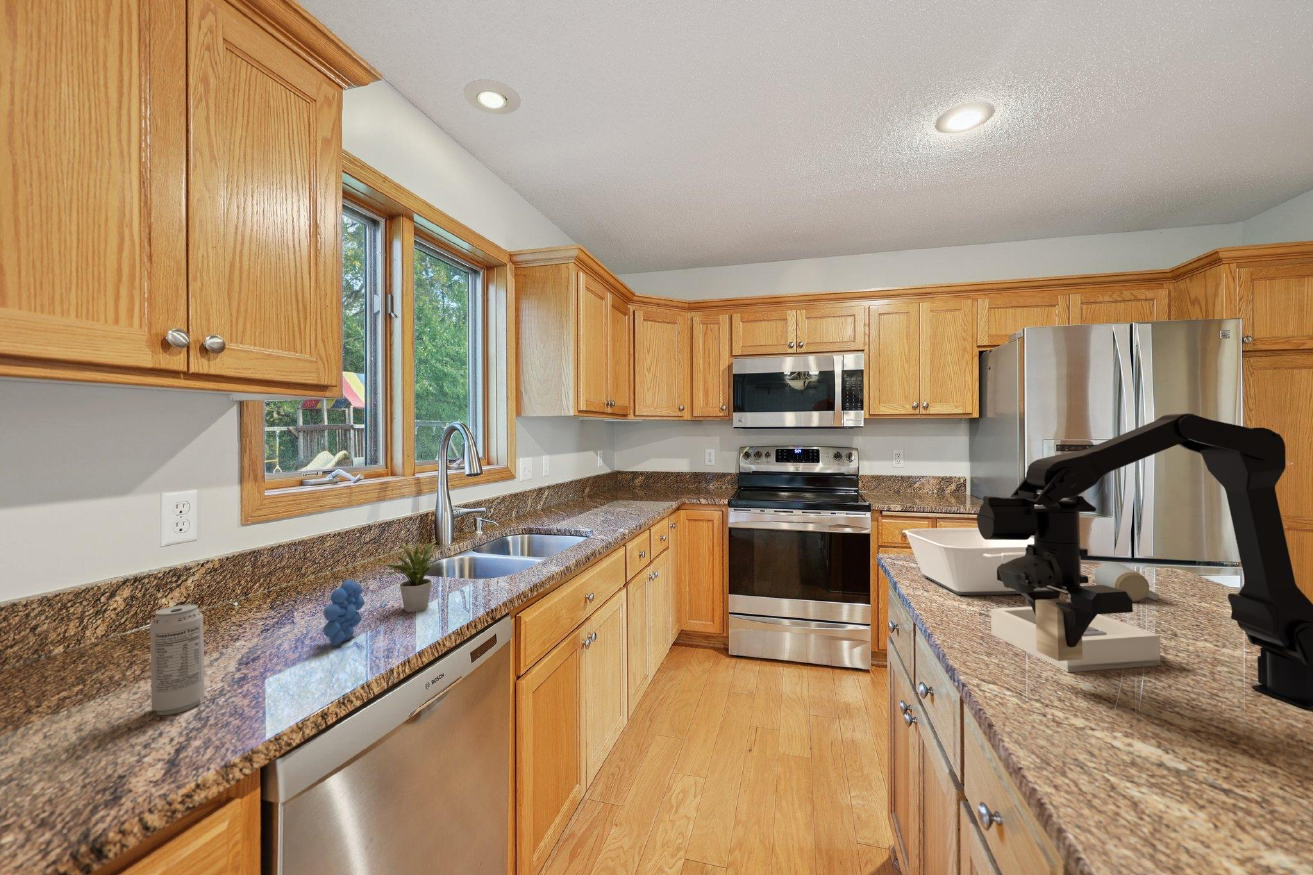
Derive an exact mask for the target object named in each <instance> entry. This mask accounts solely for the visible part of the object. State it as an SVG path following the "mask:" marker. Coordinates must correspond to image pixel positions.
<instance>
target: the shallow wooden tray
mask: <svg viewBox="0 0 1313 875" xmlns="http://www.w3.org/2000/svg"><path fill="white" fill-rule="evenodd" d="M990 619H991V620H990V622H991V624H990V628H991V629H990V630H991V631H990V632H991V635H992V636H994V637H995V638H998V639H999V640H1001V641H1004V642H1006V643H1009V644H1010V645H1012V646H1015V647H1016V648H1019V649H1021V650H1022V651H1024V652H1026V653H1028V654H1030V655H1032V656H1034V657H1035V658H1039V659H1040V660H1042V661H1044V662H1046V661H1047V663H1049V664H1050V663H1051V665H1053V666H1054V665H1055V667H1057V668H1058V667H1059V668H1058V669H1061V670H1062V671H1064V670H1065V672H1067V673H1074V672H1087V671H1102V670H1113V669H1114V670H1116V669H1129V668H1143V667H1157V665H1159V666H1161V640H1160V638H1161V636H1160V634H1157V633H1154V632H1151V631H1148V630H1145V629H1143V628H1140V627H1136V626H1134V625H1132V624H1128V623H1125V622H1122V621H1120V620H1116V619H1114V618H1111V617H1108V616H1105V615H1103V614H1097V616H1096V617H1095V618H1094V619H1093V621H1092V622H1091V623H1090V625H1089V626H1088V628H1087V629H1086V631H1085V632H1084V634H1083V636H1082V655H1083V659H1081V660H1067V661H1057V660H1055V659H1053V658H1051V657H1049V656H1047V655H1045V654H1043V653H1040V652H1038V651H1037V646H1036V616H1035V614H1034V611H1033V609H1032V607H1031V606H1020V607H1019V606H1017V607H1004V608H1003V607H1002V608H991V609H990Z"/></svg>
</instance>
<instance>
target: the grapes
mask: <svg viewBox="0 0 1313 875" xmlns="http://www.w3.org/2000/svg"><path fill="white" fill-rule="evenodd" d="M362 593H363V587H362V585H361V584H360V583H358V582H354V581H353V580H351V579H348V580H345V581H344V582H342V583H341V585H340V586H339V587H338V588H335V590H333V591H332V593H331V594H330V596H329V598H330V601H331V604H329V605H328V606H327V607H325V608H324V611H323V617H324V618H325V620H326V621H327V623H325V625H324V626H323V627H322V630H323V634H324V635H325V637H327V638H328V640H329V643H330V644H331V645H333V646H338V645H340V644H341V643H342V642H346V641H349V640H350V639H351V638H352V636H353V635H354V634H355V630H354V628H355V627H357V626H358V625H359V624H360V623H361V621H362V620H363V618H362V616H361V613H360V612H359V610H361V609H362V608H363V607H364V605H365V604H366V603H365V599H364V598H363V596H362V595H361V594H362Z"/></svg>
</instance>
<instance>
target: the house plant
mask: <svg viewBox="0 0 1313 875" xmlns="http://www.w3.org/2000/svg"><path fill="white" fill-rule="evenodd" d="M436 542H437V540H436V541H435V540H434V541H432V542H429V543H425V545H424V546H423V547H422V548H421V551H420V553H419V547H420V546H419V545H420V544H419V541H417V543H415V544H416V547H415V549H414V548H410V547H409V546H408V545H406V544H404V543H402V545H403V546H402V545H400V547H401V549H403V550H404V552H405V554H406V555H407V557H408V559H409V561H408V560H406V558H405V557H404V556H402V555H401V554H399V553H397V552H394V551H389V550H386V551H385V552H386V553H388V555H392V556H395V557H396V558H397V559H398V560H400V561H401V562H402V563H403V565H401V564H395V563H379V565H381V566H385V569H389V570H392V571H391V572H389V573H388V574H386V577H389V576H390V575H393V574H396V573H397V574H399V576H400V577H402V578H404V579H405V580H404V581H402V582H400V583H399V588H400V593H401V599H402V604H403V609H404V611H405V612H409V613H412V612H413V613H414V612H420V611H424V610H426V609H427V608H428V607H429V602H430V595H431V589H432V583H433V580H432V579H430V578H425V576H426V575H427V574H428V572H429V571H430V570H432V569H434V568H436V567H438V565H434V564H433V562H430V563H429V561H430V560H431V559H432V557H433V555H434V554H436V552H437V549H435V550H434V551H433V548H435V543H436ZM411 550H412V552H411ZM432 551H433V553H431V552H432ZM389 553H393V554H389ZM409 562H410V563H409ZM430 565H432V567H429V566H430ZM386 567H388V568H386ZM440 567H441V568H443V567H442V565H440ZM385 569H384V570H385ZM403 575H404V576H403Z"/></svg>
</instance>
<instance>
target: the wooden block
mask: <svg viewBox="0 0 1313 875" xmlns="http://www.w3.org/2000/svg"><path fill="white" fill-rule="evenodd" d="M1060 602H1067V600H1064V599H1061V598H1059V599H1041V600H1035V605H1036V646H1037V651H1038V652H1040V653H1043V654H1045V655H1047V656H1049V657H1051V658H1053V659H1055V660H1057V661H1067V660H1081V659H1083V655H1082V637H1081V639H1080V640H1079V642H1078V644H1077V645H1076V646H1075V647H1068V646H1067V643H1066V638H1065V627H1064V614H1063V612H1062V611H1061V610H1060V608H1059V607H1058V606H1057V605H1056V604H1055V603H1060Z"/></svg>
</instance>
